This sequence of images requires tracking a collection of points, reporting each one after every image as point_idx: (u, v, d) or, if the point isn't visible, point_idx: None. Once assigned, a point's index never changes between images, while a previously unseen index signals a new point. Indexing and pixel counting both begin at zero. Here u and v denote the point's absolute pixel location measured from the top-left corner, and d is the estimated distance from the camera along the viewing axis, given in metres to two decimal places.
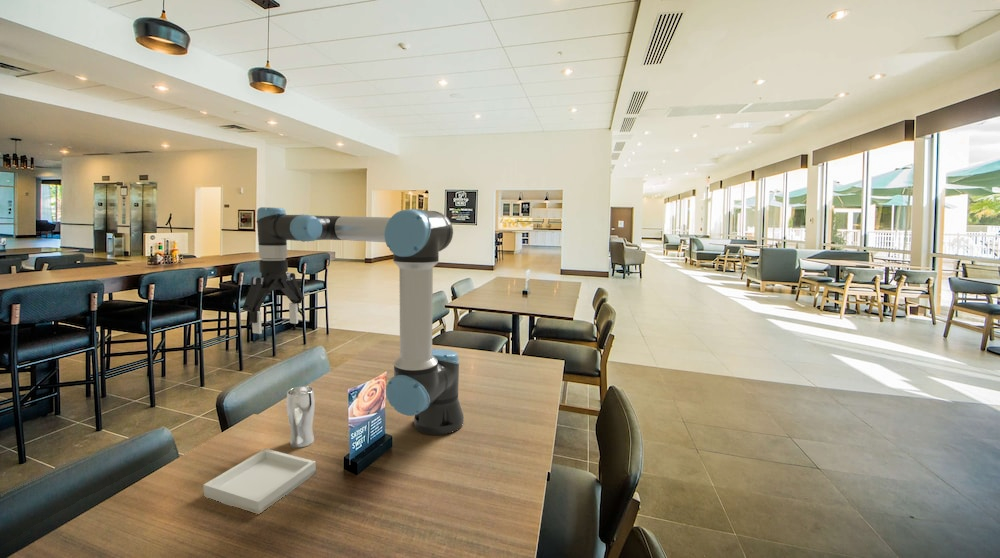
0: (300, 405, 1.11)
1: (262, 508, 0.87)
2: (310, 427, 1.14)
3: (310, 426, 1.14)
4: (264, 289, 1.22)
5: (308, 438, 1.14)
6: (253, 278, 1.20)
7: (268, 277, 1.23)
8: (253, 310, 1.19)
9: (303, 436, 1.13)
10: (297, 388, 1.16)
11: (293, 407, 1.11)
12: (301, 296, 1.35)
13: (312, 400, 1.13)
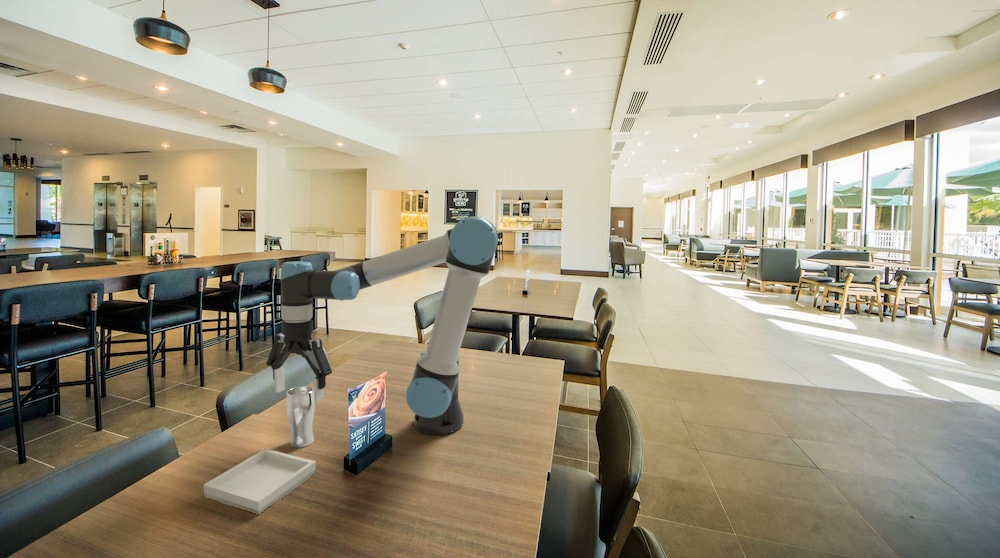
0: (300, 405, 1.11)
1: (262, 508, 0.87)
2: (310, 427, 1.14)
3: (310, 426, 1.14)
4: None
5: (308, 438, 1.14)
6: None
7: (285, 337, 1.11)
8: None
9: (303, 436, 1.13)
10: (297, 388, 1.16)
11: (293, 407, 1.11)
12: (322, 371, 1.09)
13: (312, 400, 1.13)
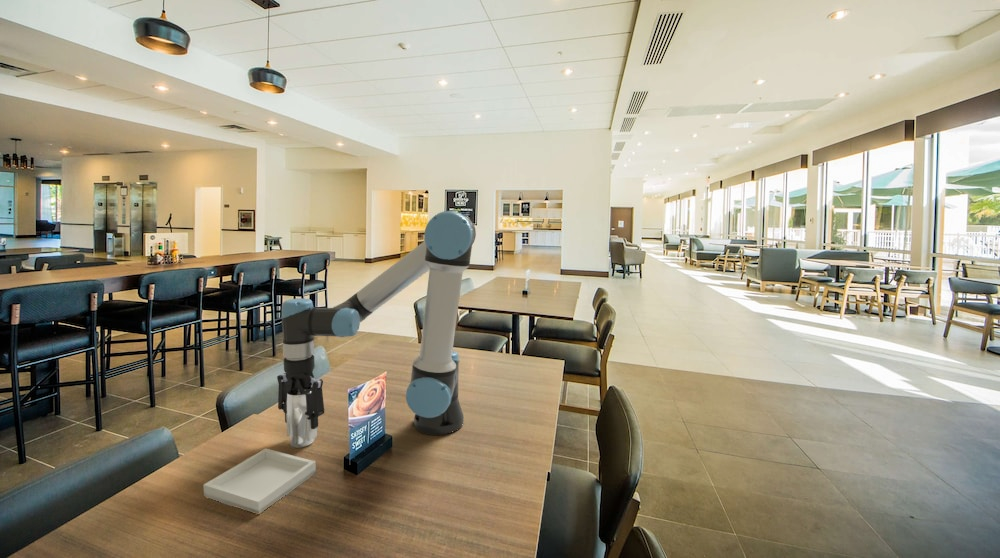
0: (300, 405, 1.11)
1: (262, 508, 0.87)
2: None
3: None
4: None
5: None
6: None
7: (287, 374, 1.13)
8: None
9: (303, 436, 1.13)
10: None
11: (293, 407, 1.11)
12: (315, 412, 1.11)
13: None
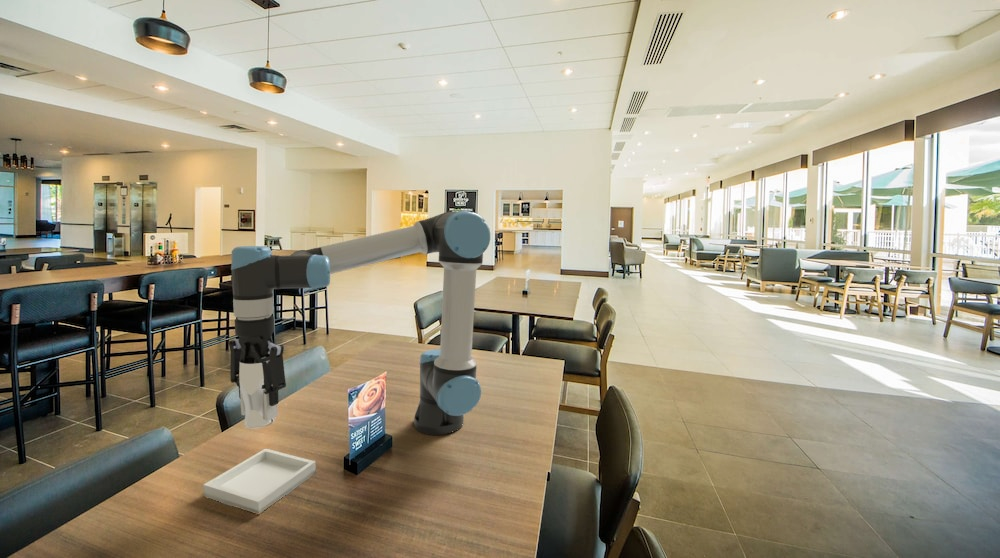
0: (255, 376, 0.90)
1: (262, 508, 0.87)
2: None
3: None
4: None
5: None
6: None
7: (240, 338, 0.92)
8: None
9: (260, 414, 0.92)
10: None
11: (247, 378, 0.90)
12: (274, 385, 0.90)
13: None
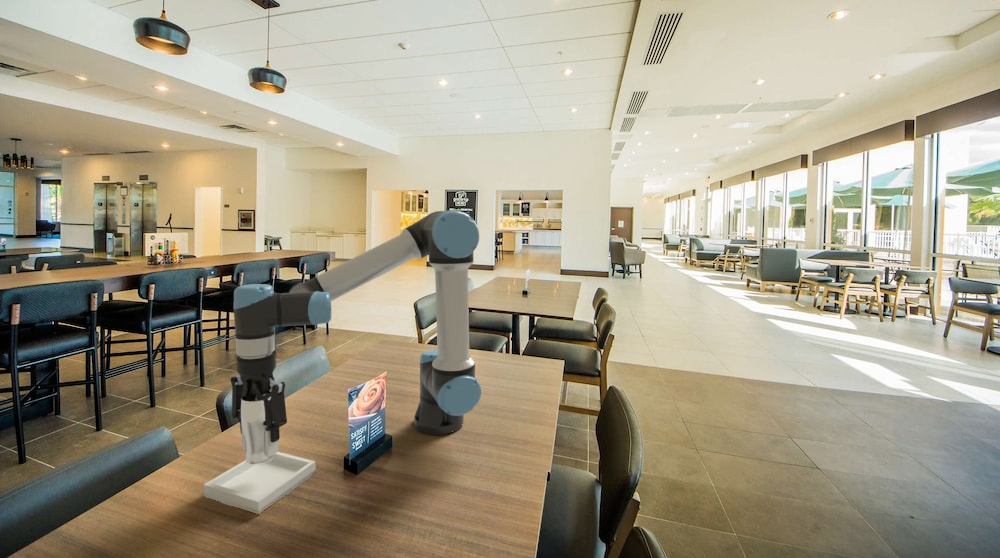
0: (256, 413, 0.91)
1: (262, 508, 0.87)
2: None
3: None
4: None
5: None
6: None
7: (242, 375, 0.93)
8: None
9: (261, 451, 0.93)
10: None
11: (248, 416, 0.91)
12: (275, 422, 0.91)
13: None
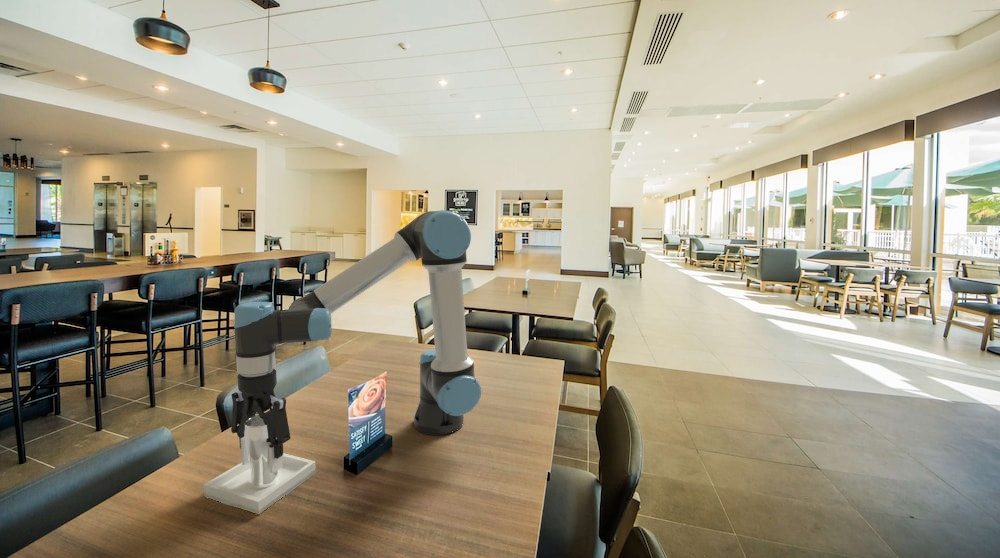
0: (260, 438, 0.92)
1: (262, 508, 0.87)
2: None
3: None
4: None
5: (270, 477, 0.95)
6: None
7: (243, 392, 0.94)
8: None
9: (264, 475, 0.94)
10: (258, 416, 0.97)
11: (252, 441, 0.92)
12: (278, 438, 0.92)
13: None
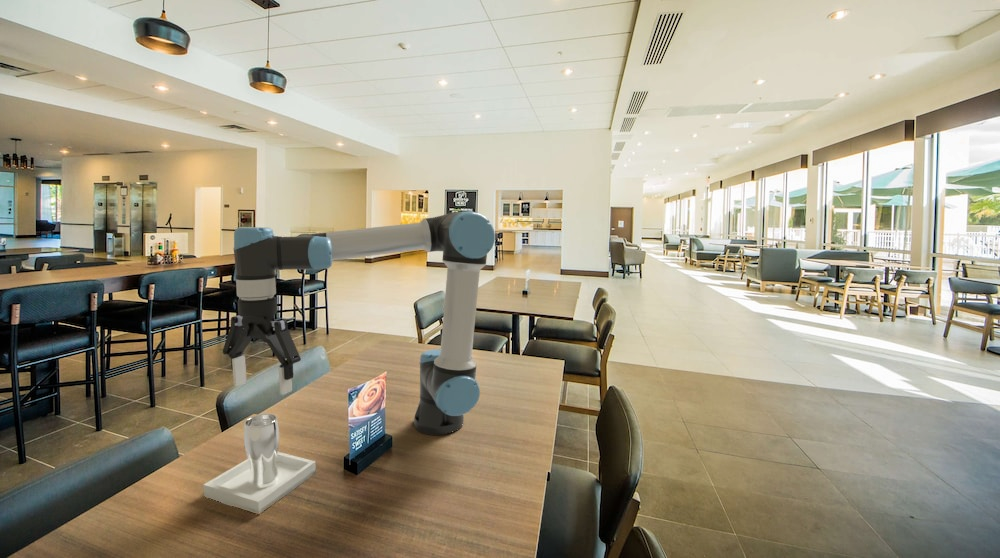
0: (259, 438, 0.92)
1: (262, 508, 0.87)
2: (273, 463, 0.95)
3: (273, 462, 0.95)
4: None
5: (270, 477, 0.95)
6: None
7: (244, 319, 0.93)
8: None
9: (264, 475, 0.94)
10: (258, 416, 0.97)
11: (251, 441, 0.91)
12: (288, 358, 0.90)
13: (275, 431, 0.94)
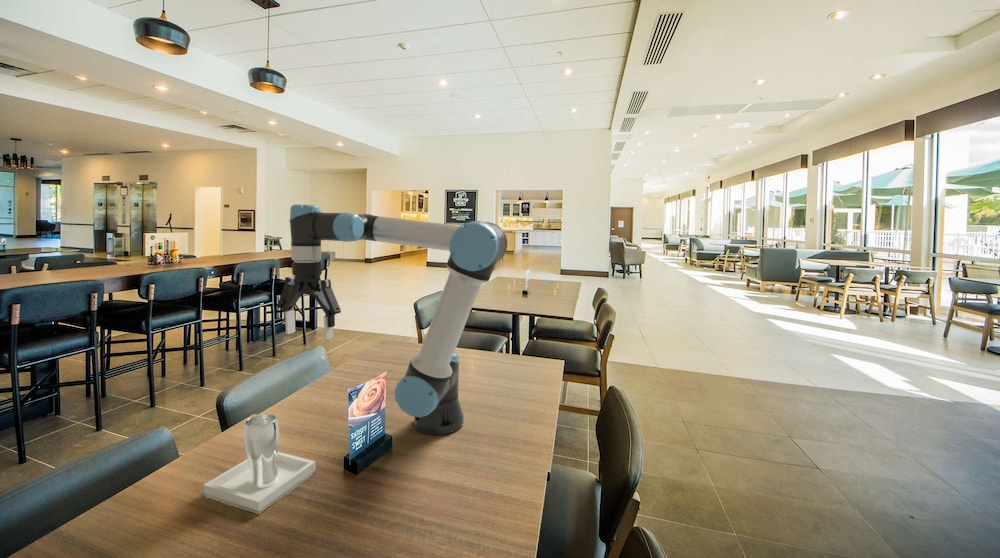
0: (259, 438, 0.92)
1: (262, 508, 0.87)
2: (273, 463, 0.95)
3: (273, 462, 0.95)
4: None
5: (270, 477, 0.95)
6: None
7: (295, 279, 1.16)
8: None
9: (264, 475, 0.94)
10: (258, 416, 0.97)
11: (251, 441, 0.92)
12: (331, 309, 1.13)
13: (275, 431, 0.94)
